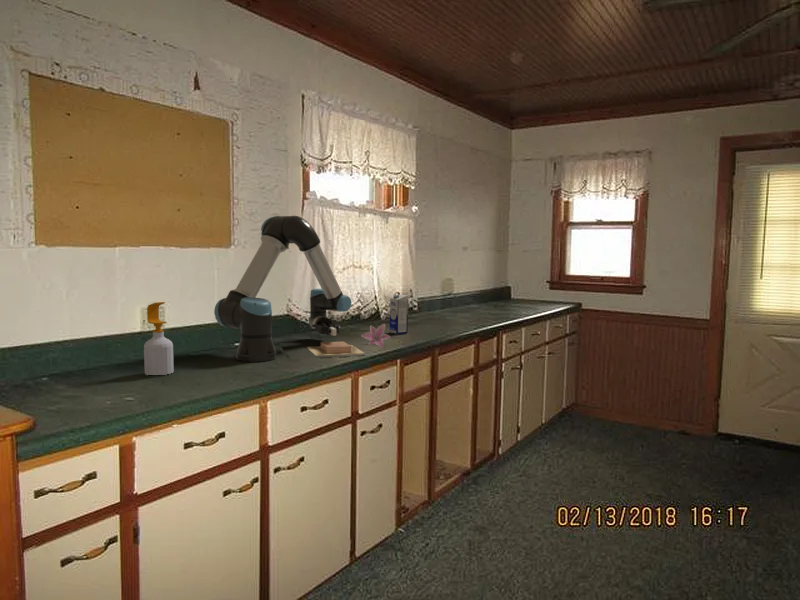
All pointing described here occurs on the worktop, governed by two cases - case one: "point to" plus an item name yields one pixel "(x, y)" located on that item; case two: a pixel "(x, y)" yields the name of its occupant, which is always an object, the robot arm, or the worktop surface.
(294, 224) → the robot arm
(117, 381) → the worktop surface
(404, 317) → the milk carton
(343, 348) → the tile
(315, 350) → the board
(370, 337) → the lily
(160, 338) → the soap bottle
